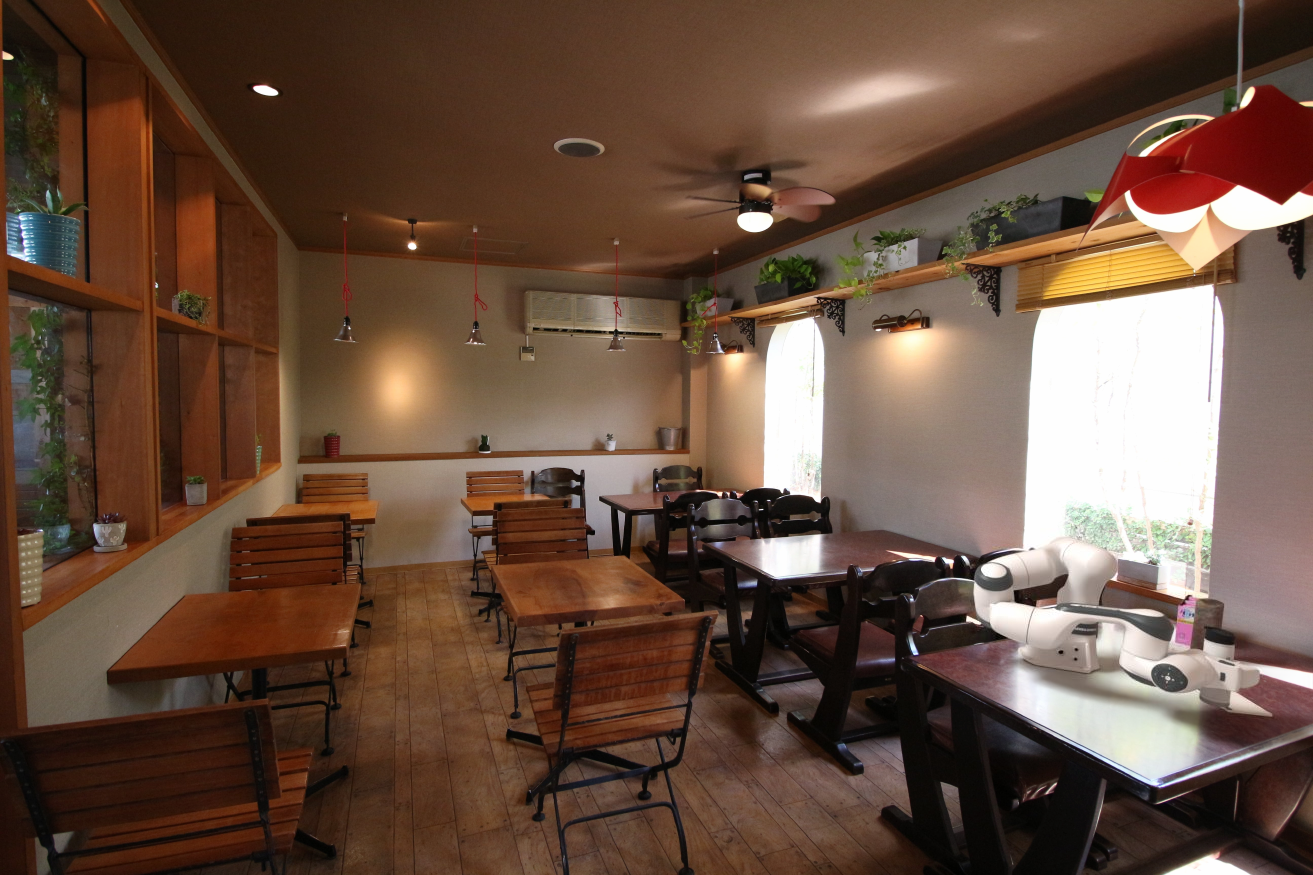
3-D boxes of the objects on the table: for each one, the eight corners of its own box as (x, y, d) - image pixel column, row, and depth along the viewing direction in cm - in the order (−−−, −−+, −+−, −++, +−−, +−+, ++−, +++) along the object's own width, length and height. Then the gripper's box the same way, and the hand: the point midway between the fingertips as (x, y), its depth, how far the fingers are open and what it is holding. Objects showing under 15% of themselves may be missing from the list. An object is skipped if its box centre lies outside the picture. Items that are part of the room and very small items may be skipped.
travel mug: (1197, 694, 182) (1203, 623, 181) (1229, 702, 178) (1235, 629, 177) (1197, 701, 178) (1203, 628, 177) (1229, 709, 173) (1236, 634, 172)
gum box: (1184, 628, 252) (1187, 593, 251) (1211, 634, 246) (1215, 598, 245) (1174, 642, 235) (1177, 604, 234) (1203, 649, 229) (1206, 610, 229)
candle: (1224, 663, 216) (1229, 602, 215) (1210, 665, 213) (1215, 604, 212) (1197, 654, 223) (1202, 596, 222) (1183, 656, 221) (1189, 597, 220)
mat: (1227, 711, 179) (1228, 708, 179) (1190, 687, 195) (1191, 684, 195) (1272, 716, 177) (1272, 713, 177) (1231, 691, 193) (1231, 688, 193)
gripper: (1149, 664, 180) (1172, 656, 187) (1244, 695, 162) (1266, 685, 169) (1151, 641, 179) (1174, 634, 186) (1247, 669, 162) (1269, 660, 169)
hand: (1219, 658), depth 178 cm, fingers closed on travel mug, 6 cm apart
